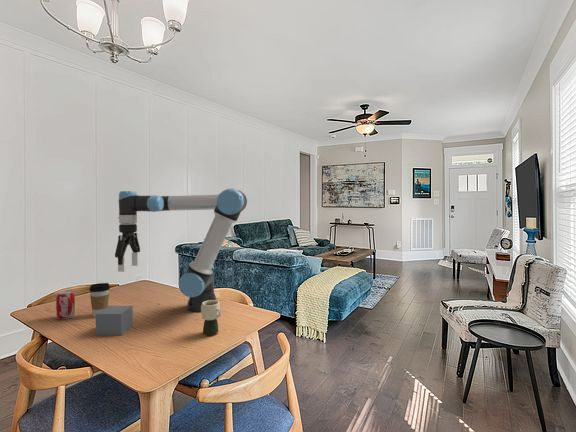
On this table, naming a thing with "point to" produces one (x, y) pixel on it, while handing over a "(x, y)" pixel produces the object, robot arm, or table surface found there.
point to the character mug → (210, 316)
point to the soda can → (65, 305)
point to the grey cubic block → (114, 320)
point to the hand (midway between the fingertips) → (128, 268)
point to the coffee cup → (99, 297)
